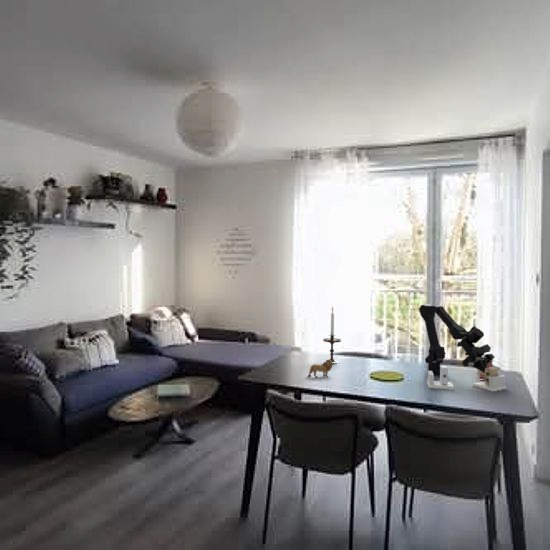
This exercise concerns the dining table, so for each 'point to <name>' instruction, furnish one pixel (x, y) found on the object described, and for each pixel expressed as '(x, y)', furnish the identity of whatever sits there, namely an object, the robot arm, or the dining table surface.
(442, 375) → the one dot key
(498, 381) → the white l-shaped holder
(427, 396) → the dining table surface
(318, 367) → the lion figurine
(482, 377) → the stack of blocks
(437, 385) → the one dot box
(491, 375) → the two dot key
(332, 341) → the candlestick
